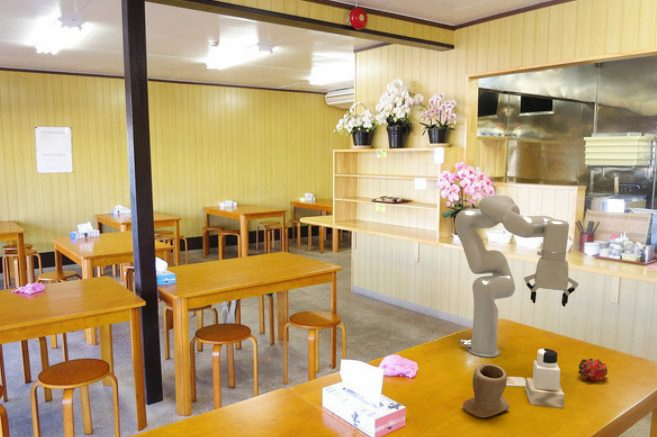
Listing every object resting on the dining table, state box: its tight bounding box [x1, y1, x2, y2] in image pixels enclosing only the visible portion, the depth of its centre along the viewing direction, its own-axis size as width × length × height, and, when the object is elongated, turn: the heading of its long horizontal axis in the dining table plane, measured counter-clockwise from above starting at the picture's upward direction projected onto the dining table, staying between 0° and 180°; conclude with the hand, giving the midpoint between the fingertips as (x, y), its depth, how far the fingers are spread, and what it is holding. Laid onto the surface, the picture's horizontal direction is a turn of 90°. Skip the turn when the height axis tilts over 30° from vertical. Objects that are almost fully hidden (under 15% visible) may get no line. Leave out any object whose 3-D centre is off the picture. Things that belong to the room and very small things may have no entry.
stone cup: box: [462, 363, 511, 418], centre depth 157 cm, size 15×12×15 cm
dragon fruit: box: [577, 358, 608, 383], centre depth 181 cm, size 8×8×12 cm
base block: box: [524, 377, 566, 409], centre depth 166 cm, size 10×10×5 cm
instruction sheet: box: [506, 376, 526, 387], centre depth 179 cm, size 10×7×1 cm
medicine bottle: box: [532, 348, 561, 391], centre depth 165 cm, size 7×7×12 cm
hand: (548, 303), depth 174 cm, fingers open, 9 cm apart
